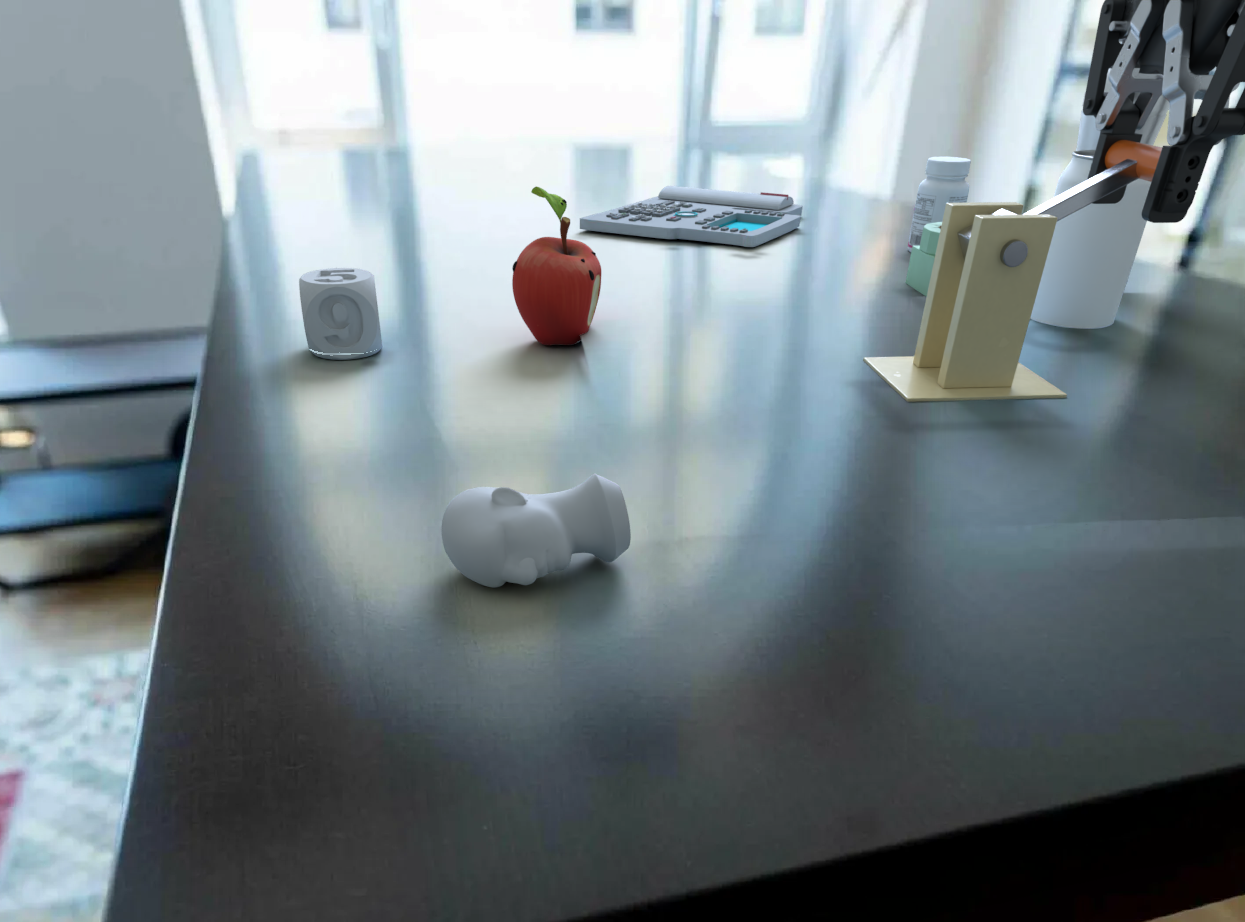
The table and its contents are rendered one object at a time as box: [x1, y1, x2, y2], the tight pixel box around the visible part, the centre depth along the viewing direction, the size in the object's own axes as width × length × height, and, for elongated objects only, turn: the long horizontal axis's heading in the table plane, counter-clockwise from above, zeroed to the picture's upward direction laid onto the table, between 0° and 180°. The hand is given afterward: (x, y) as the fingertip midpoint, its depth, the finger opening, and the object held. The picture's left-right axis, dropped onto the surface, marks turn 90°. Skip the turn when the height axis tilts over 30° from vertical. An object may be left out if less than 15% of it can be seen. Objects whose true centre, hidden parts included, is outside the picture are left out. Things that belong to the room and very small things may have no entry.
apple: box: [511, 185, 602, 346], centre depth 66 cm, size 8×7×10 cm
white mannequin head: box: [441, 473, 632, 588], centre depth 39 cm, size 4×8×5 cm
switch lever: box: [957, 140, 1163, 262], centre depth 54 cm, size 11×6×2 cm, turn 95°
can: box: [1030, 150, 1151, 330], centre depth 68 cm, size 6×6×12 cm
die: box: [298, 267, 383, 361], centre depth 65 cm, size 5×5×5 cm
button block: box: [905, 222, 942, 297], centre depth 80 cm, size 9×8×5 cm
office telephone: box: [579, 185, 803, 248], centre depth 105 cm, size 23×3×20 cm
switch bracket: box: [862, 201, 1068, 403], centre depth 57 cm, size 10×8×11 cm
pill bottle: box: [907, 156, 972, 253], centre depth 92 cm, size 5×5×8 cm
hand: (1129, 210), depth 54 cm, fingers closed on switch lever, 5 cm apart
